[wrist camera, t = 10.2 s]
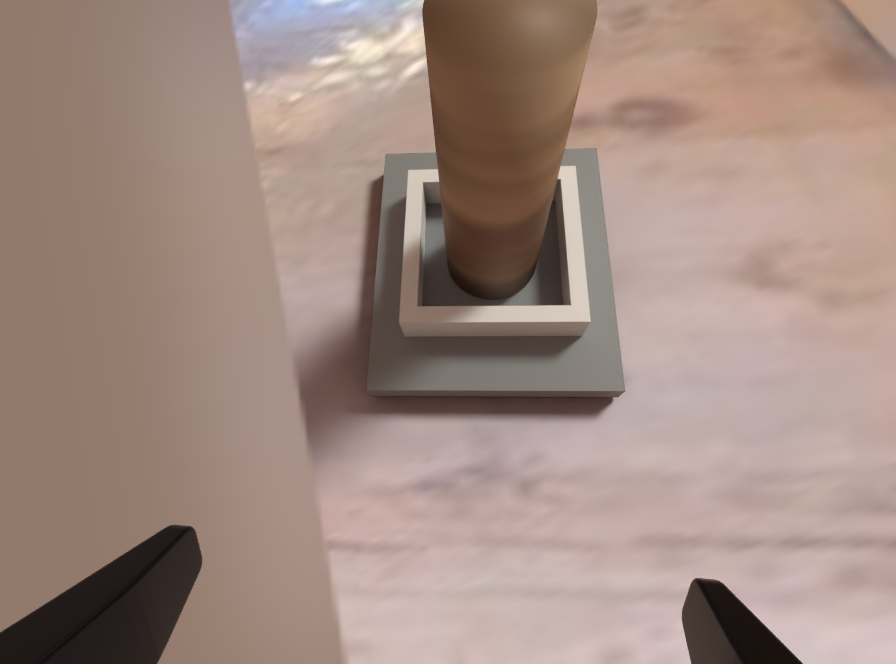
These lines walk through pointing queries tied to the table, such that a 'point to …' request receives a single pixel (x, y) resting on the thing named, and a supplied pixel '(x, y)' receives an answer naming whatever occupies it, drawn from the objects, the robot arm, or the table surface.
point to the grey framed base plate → (493, 320)
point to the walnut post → (501, 127)
